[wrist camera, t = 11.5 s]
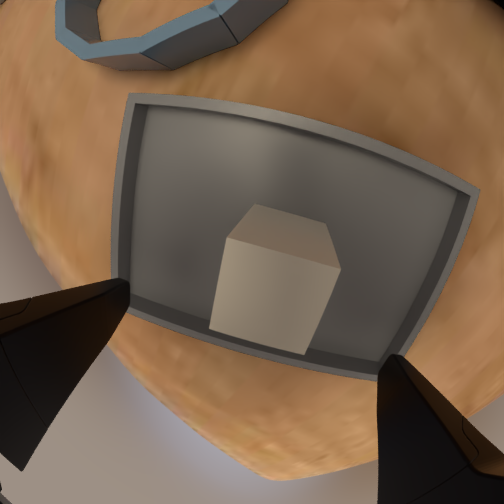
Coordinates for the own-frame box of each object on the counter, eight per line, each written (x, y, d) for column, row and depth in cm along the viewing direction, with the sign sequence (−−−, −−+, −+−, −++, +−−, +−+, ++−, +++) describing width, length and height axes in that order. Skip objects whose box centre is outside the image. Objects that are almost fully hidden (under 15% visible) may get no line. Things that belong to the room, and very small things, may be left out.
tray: (459, 183, 13) (480, 189, 11) (379, 359, 18) (385, 382, 16) (150, 98, 14) (128, 92, 12) (129, 290, 20) (112, 306, 17)
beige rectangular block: (325, 223, 14) (341, 269, 9) (304, 286, 16) (304, 354, 10) (254, 203, 15) (226, 237, 9) (239, 268, 16) (209, 328, 11)
